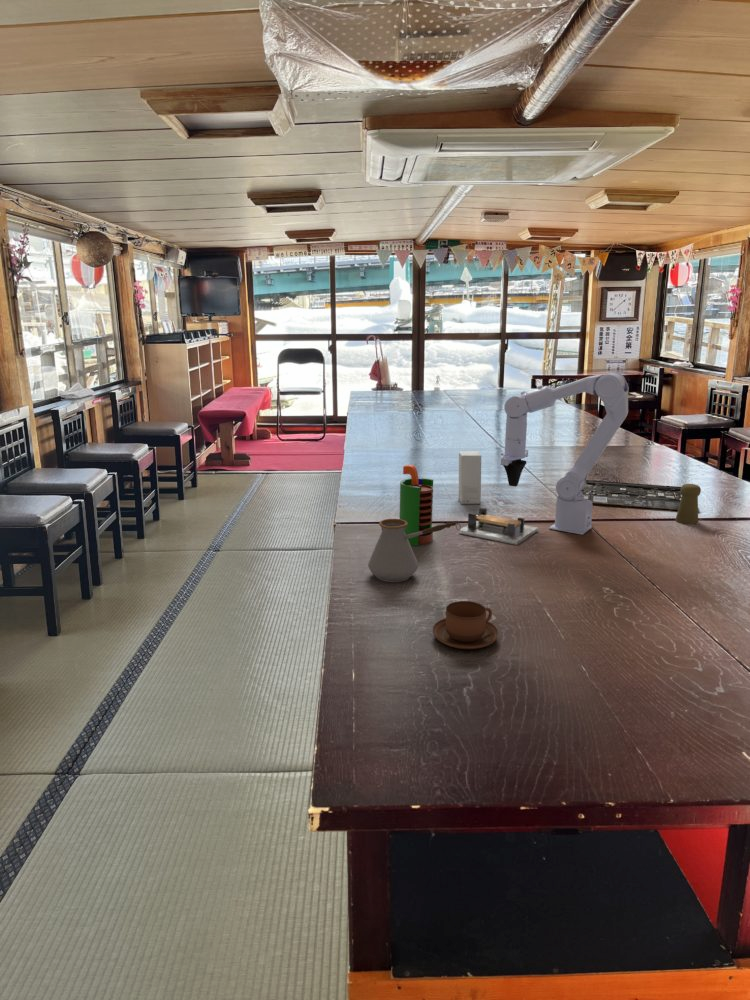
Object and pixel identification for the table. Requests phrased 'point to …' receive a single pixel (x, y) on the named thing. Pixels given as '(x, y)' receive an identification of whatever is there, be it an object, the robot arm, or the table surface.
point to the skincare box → (470, 477)
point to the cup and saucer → (466, 626)
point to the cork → (688, 504)
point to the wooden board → (496, 520)
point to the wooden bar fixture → (497, 530)
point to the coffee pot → (397, 551)
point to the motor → (416, 505)
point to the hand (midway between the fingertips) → (513, 485)
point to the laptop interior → (633, 495)
